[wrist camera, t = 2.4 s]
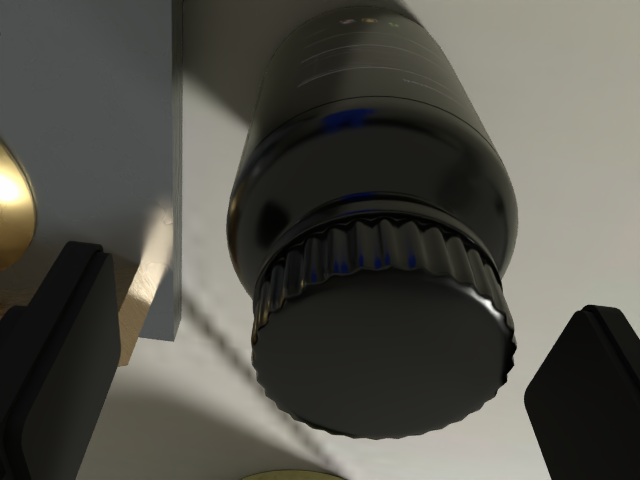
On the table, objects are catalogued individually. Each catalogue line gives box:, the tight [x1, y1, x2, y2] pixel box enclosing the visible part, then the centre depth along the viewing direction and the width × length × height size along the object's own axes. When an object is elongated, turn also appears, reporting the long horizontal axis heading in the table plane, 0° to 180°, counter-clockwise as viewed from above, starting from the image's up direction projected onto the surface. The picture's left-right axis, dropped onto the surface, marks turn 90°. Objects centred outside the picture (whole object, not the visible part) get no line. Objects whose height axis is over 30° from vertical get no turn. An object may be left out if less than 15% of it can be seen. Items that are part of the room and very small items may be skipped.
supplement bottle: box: [226, 6, 518, 440], centre depth 14 cm, size 7×7×12 cm
